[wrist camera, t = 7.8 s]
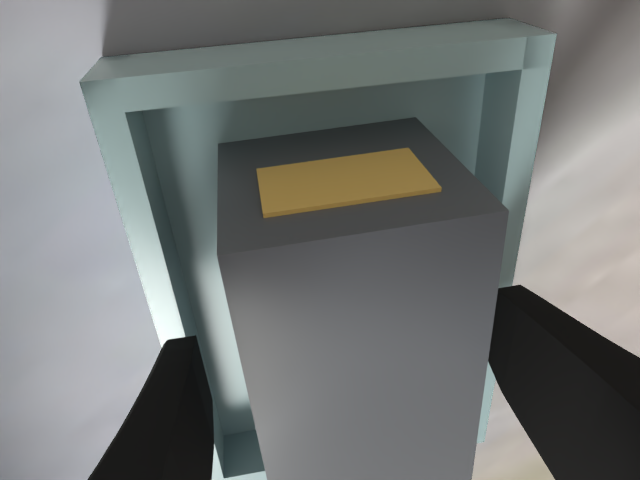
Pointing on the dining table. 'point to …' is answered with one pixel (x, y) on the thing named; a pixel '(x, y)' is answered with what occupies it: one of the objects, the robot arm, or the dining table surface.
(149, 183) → the tray
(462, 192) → the grey rectangular block
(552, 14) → the dining table surface
